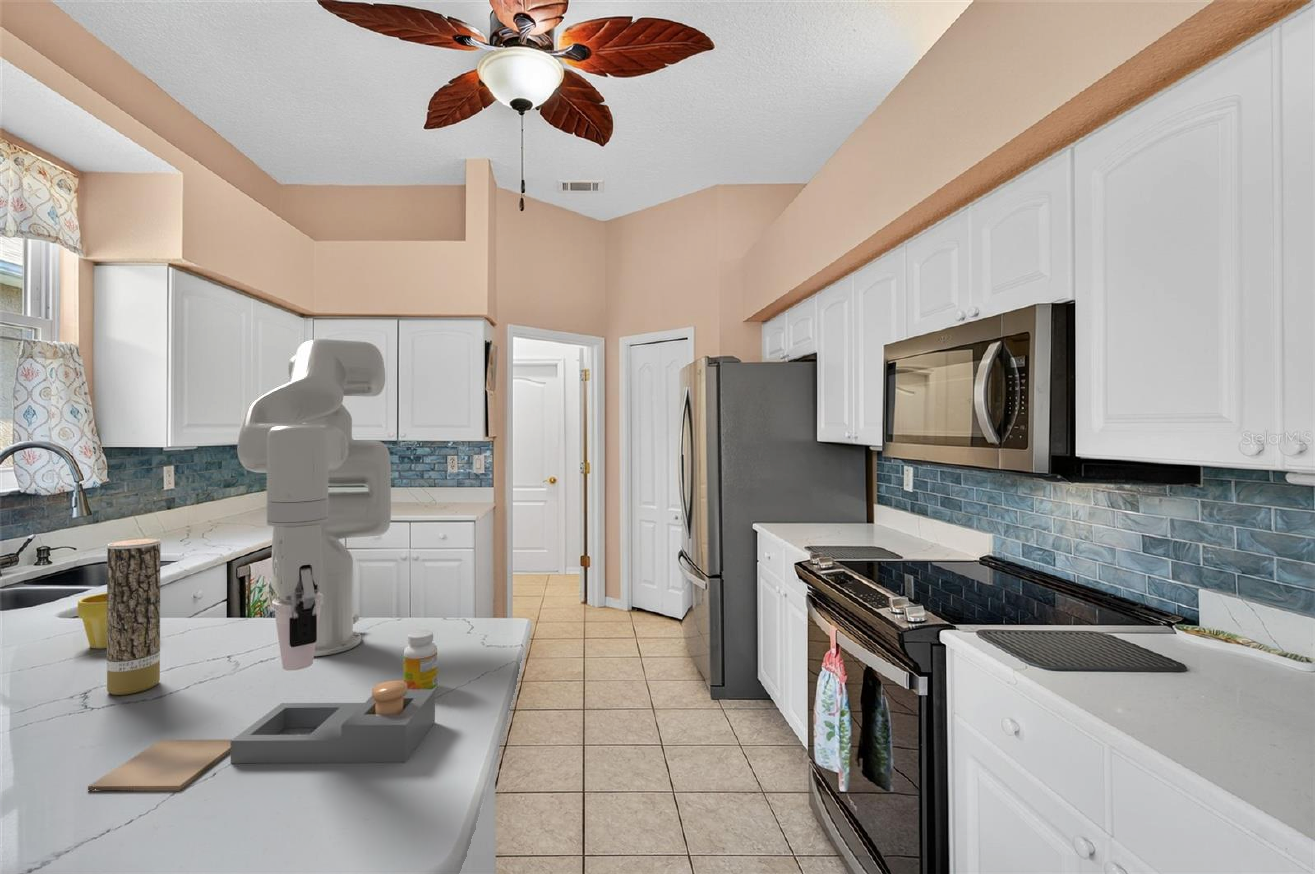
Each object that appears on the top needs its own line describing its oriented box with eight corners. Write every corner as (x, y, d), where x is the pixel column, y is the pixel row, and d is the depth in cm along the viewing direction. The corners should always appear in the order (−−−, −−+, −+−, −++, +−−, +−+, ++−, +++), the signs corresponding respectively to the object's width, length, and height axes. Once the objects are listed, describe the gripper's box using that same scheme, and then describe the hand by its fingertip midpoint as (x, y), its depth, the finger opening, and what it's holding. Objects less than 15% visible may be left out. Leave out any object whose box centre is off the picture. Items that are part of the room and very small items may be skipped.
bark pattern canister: (170, 679, 104) (170, 538, 104) (137, 696, 98) (138, 545, 98) (130, 679, 104) (131, 538, 104) (95, 697, 97) (95, 545, 97)
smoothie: (292, 654, 88) (293, 561, 88) (333, 657, 87) (334, 563, 87) (260, 672, 82) (260, 572, 81) (303, 675, 81) (303, 574, 81)
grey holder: (281, 722, 89) (281, 689, 89) (434, 722, 90) (435, 689, 90) (230, 763, 78) (230, 725, 78) (405, 762, 79) (405, 724, 79)
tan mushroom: (380, 728, 86) (380, 680, 86) (412, 728, 87) (412, 680, 86) (365, 744, 82) (365, 694, 82) (398, 744, 82) (399, 694, 82)
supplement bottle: (397, 690, 101) (398, 633, 101) (428, 680, 105) (428, 626, 105) (411, 699, 97) (412, 640, 97) (442, 689, 101) (443, 633, 101)
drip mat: (161, 743, 83) (161, 739, 83) (241, 743, 83) (241, 739, 83) (87, 791, 72) (87, 786, 72) (179, 790, 72) (179, 785, 72)
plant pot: (137, 631, 130) (137, 587, 130) (152, 641, 124) (152, 594, 124) (72, 644, 121) (72, 597, 121) (84, 656, 115) (84, 606, 115)
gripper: (257, 507, 88) (257, 626, 88) (278, 523, 75) (277, 663, 75) (314, 503, 93) (314, 616, 93) (343, 517, 80) (342, 649, 80)
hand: (298, 636), depth 84 cm, fingers closed on smoothie, 6 cm apart
